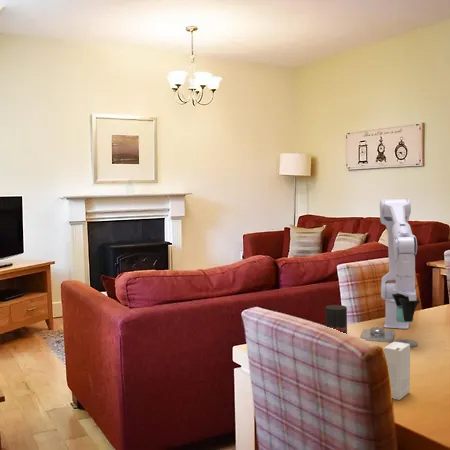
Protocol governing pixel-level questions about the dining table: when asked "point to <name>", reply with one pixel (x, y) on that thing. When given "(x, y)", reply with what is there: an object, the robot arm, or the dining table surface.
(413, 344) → the coaster
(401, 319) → the cap
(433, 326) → the dining table surface
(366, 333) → the post plinth
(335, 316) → the deodorant
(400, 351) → the skincare box
